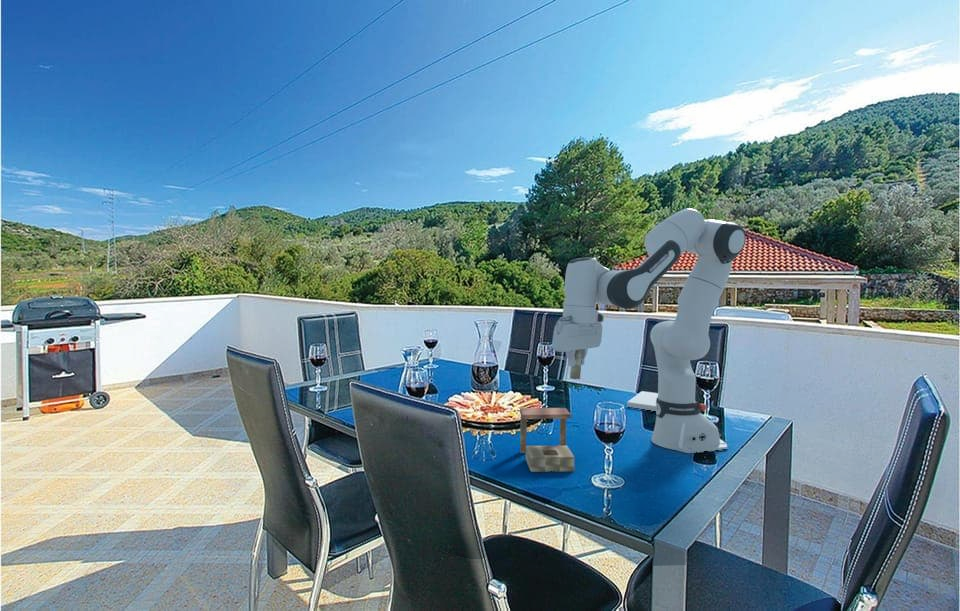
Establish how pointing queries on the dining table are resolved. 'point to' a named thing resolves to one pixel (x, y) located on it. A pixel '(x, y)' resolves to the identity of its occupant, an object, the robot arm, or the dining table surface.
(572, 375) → the peg
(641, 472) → the dining table surface
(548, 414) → the brown wooden arch
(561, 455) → the socket block
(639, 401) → the food packaging
